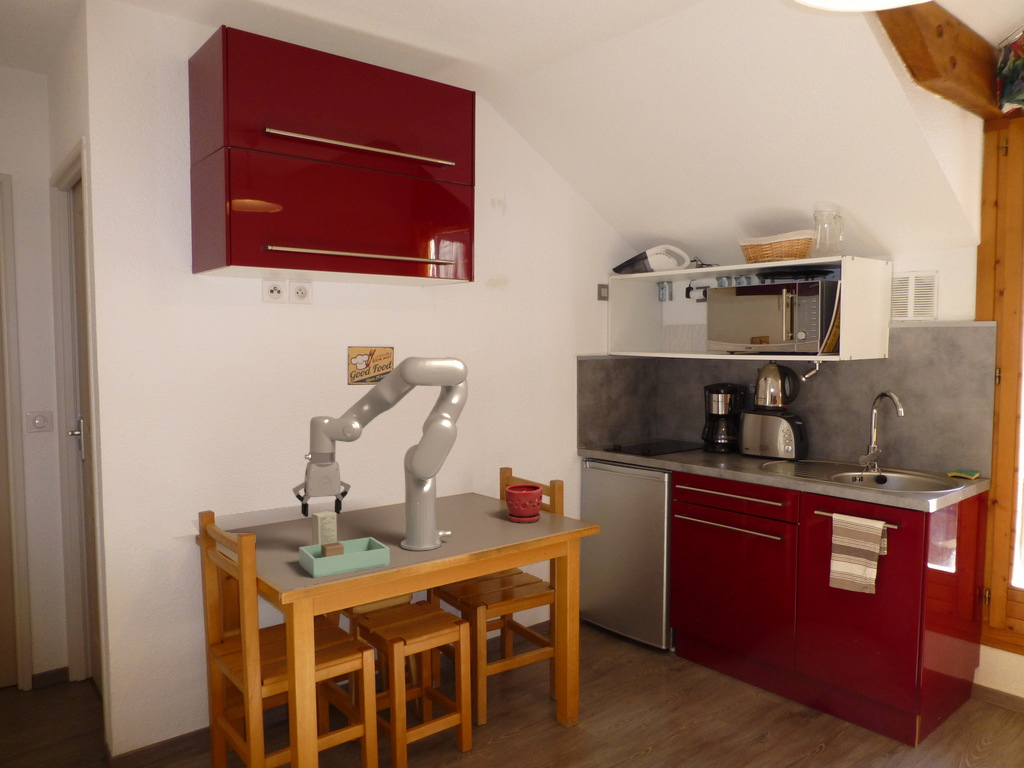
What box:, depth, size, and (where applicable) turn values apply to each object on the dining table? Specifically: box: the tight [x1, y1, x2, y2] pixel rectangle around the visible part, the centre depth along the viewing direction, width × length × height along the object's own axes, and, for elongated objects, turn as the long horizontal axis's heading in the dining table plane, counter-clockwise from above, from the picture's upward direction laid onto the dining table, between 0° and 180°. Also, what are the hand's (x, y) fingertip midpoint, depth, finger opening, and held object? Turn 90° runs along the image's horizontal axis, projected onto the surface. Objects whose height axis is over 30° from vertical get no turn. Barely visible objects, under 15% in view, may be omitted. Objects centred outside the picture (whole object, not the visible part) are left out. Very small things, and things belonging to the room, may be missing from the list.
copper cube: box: [321, 541, 344, 558], centre depth 211 cm, size 5×5×5 cm
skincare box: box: [311, 510, 338, 545], centre depth 224 cm, size 6×4×12 cm
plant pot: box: [505, 483, 543, 524], centre depth 264 cm, size 13×13×12 cm
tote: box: [298, 536, 391, 579], centre depth 211 cm, size 22×15×5 cm
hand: (321, 514), depth 223 cm, fingers open, 9 cm apart
